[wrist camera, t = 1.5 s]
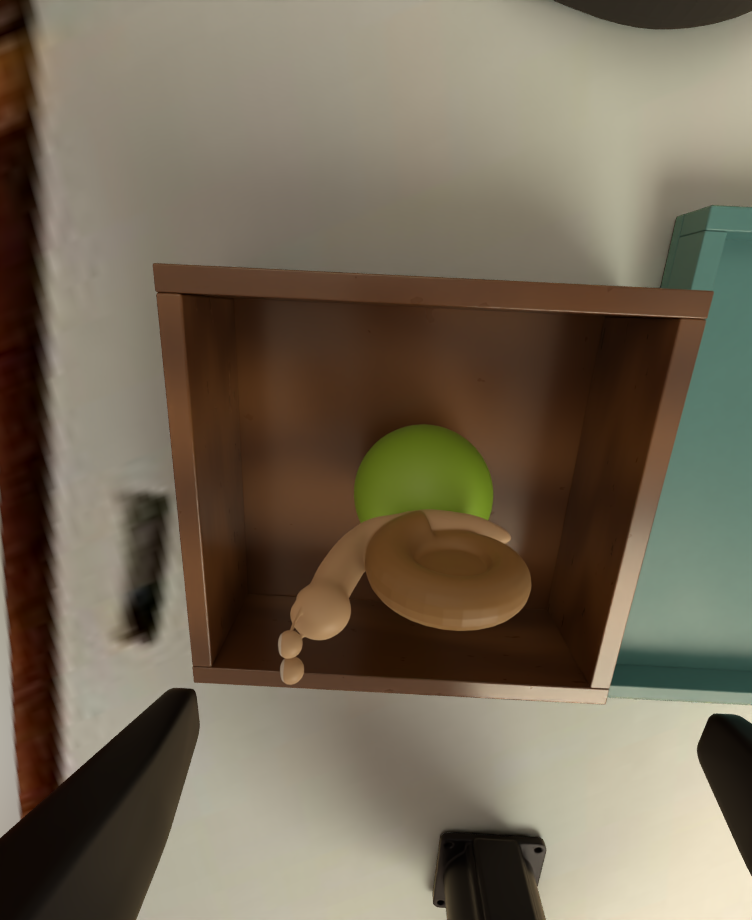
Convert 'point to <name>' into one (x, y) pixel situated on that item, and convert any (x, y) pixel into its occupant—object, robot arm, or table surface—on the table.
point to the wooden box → (404, 404)
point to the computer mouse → (662, 11)
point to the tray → (702, 492)
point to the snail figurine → (415, 545)
